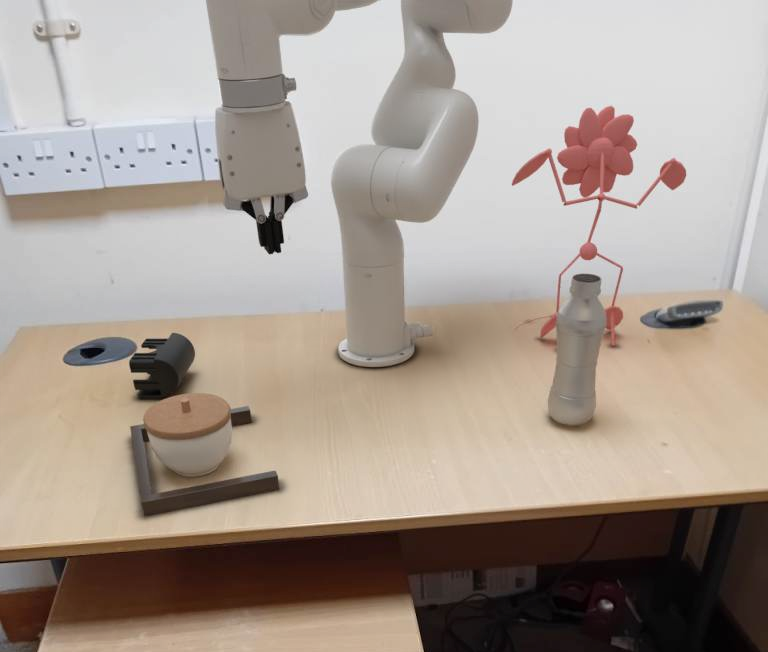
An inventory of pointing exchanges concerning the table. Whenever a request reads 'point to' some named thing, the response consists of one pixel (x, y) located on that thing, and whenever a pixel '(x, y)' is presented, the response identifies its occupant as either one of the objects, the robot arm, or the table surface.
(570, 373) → the plastic bottle
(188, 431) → the trinket box
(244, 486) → the frame
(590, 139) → the figurine
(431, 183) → the robot arm
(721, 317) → the table surface
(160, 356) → the end cap
